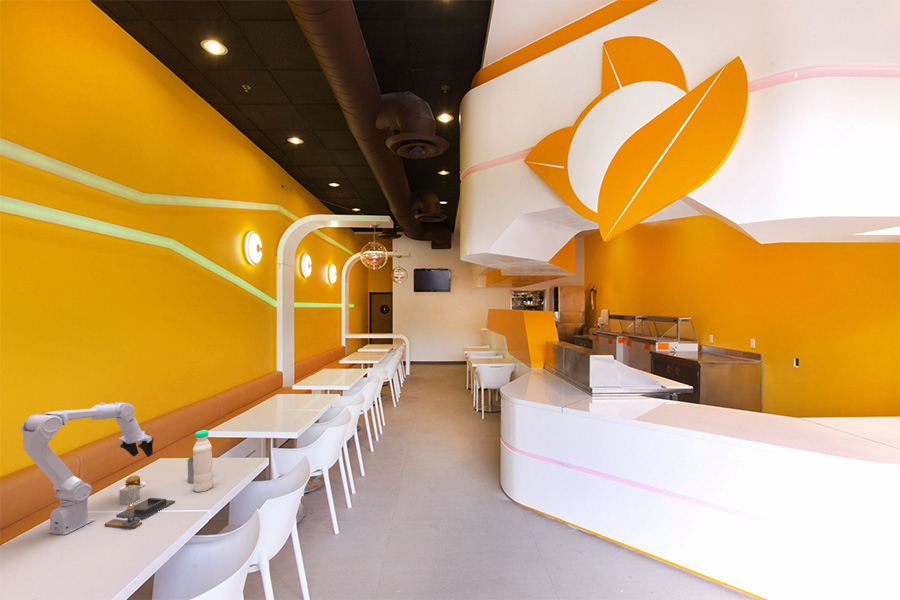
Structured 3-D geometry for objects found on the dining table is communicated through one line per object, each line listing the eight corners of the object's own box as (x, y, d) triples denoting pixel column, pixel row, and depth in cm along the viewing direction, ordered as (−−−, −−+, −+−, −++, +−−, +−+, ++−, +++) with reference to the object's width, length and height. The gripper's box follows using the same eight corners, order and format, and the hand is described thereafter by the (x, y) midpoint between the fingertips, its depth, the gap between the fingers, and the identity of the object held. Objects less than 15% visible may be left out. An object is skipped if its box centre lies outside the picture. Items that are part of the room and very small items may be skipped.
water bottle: (216, 485, 175) (215, 428, 176) (205, 492, 168) (203, 433, 169) (201, 485, 176) (200, 428, 177) (189, 492, 169) (188, 433, 170)
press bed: (144, 519, 148) (144, 513, 148) (116, 517, 150) (116, 510, 150) (175, 502, 160) (174, 496, 160) (148, 500, 163) (148, 494, 163)
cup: (190, 478, 184) (189, 456, 184) (210, 474, 188) (210, 453, 188) (186, 485, 177) (186, 462, 177) (208, 481, 180) (207, 459, 180)
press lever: (130, 526, 141) (129, 506, 141) (122, 525, 142) (121, 506, 142) (140, 520, 145) (139, 501, 145) (132, 520, 145) (131, 501, 146)
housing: (128, 505, 159) (128, 488, 159) (119, 504, 160) (119, 488, 160) (139, 500, 164) (139, 483, 164) (130, 499, 164) (130, 483, 165)
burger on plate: (119, 497, 168) (119, 484, 168) (112, 490, 175) (111, 478, 175) (153, 486, 177) (153, 474, 177) (145, 480, 185) (144, 468, 185)
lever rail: (133, 529, 141) (133, 526, 141) (104, 526, 144) (104, 523, 144) (142, 524, 144) (142, 521, 144) (113, 521, 147) (113, 518, 147)
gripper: (153, 422, 166) (164, 448, 171) (125, 422, 169) (137, 448, 174) (138, 433, 160) (150, 460, 164) (109, 433, 163) (122, 459, 167)
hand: (143, 455), depth 169 cm, fingers open, 7 cm apart
